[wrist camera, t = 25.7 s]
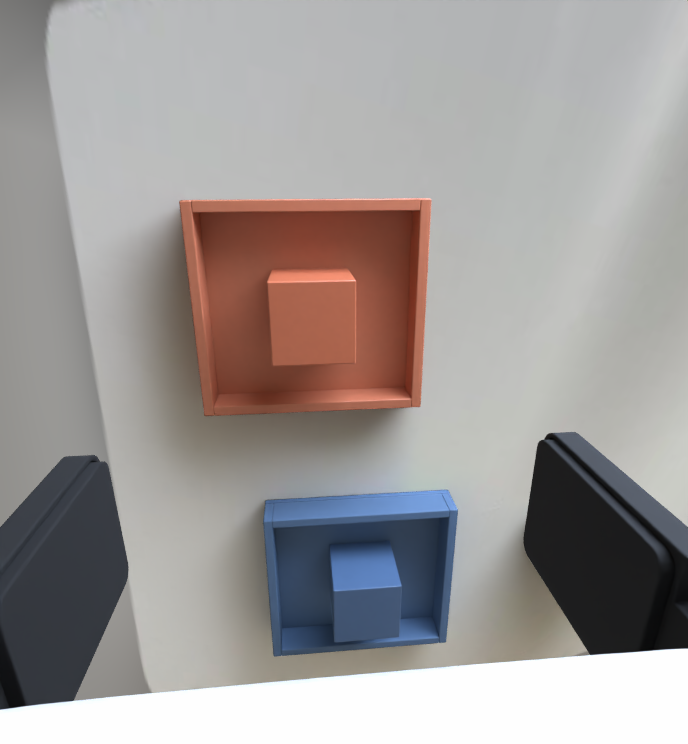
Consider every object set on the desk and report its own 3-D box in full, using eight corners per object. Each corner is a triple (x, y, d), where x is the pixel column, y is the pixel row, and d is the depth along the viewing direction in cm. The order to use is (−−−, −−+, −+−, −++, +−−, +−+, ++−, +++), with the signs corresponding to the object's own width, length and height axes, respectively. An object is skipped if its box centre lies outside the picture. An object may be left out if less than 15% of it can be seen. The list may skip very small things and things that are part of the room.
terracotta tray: (211, 400, 31) (204, 416, 29) (188, 199, 27) (178, 200, 25) (412, 392, 32) (420, 407, 30) (421, 198, 28) (431, 198, 26)
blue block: (330, 591, 37) (334, 642, 33) (329, 544, 35) (333, 591, 31) (388, 587, 37) (399, 637, 33) (389, 539, 36) (401, 586, 31)
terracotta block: (275, 342, 30) (271, 367, 25) (271, 269, 28) (266, 281, 24) (348, 340, 30) (356, 364, 26) (347, 267, 28) (356, 280, 24)
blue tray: (275, 630, 38) (273, 657, 36) (265, 500, 34) (263, 521, 32) (437, 617, 39) (446, 642, 37) (448, 489, 35) (458, 509, 33)
